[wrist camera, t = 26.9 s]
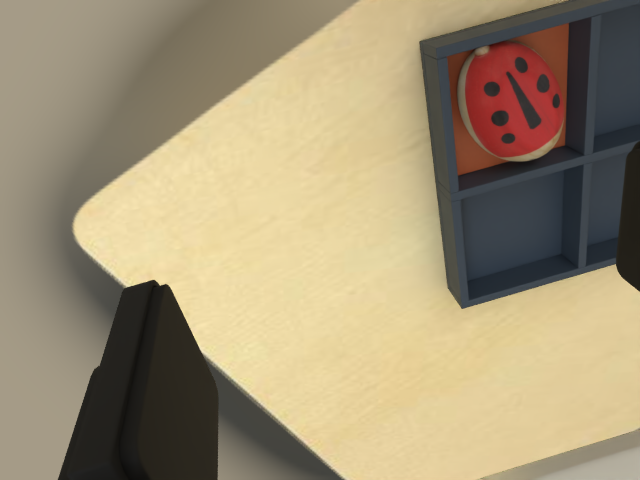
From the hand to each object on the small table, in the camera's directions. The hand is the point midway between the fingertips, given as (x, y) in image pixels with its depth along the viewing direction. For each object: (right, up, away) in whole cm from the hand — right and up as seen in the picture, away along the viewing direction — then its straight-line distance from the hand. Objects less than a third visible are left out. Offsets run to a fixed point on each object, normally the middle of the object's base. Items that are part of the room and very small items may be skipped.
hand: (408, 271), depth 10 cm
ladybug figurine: (+11, +11, +26) cm, 30 cm away
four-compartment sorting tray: (+17, +8, +29) cm, 35 cm away
